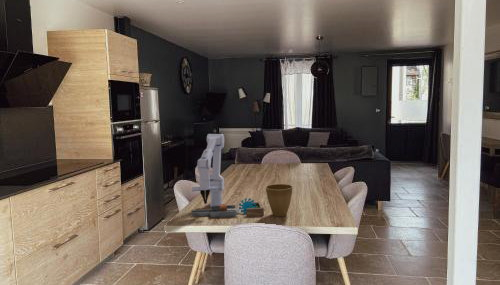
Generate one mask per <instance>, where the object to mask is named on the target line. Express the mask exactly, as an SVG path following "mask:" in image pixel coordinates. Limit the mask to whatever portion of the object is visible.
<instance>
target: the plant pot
mask: <svg viewBox="0 0 500 285" xmlns="http://www.w3.org/2000/svg"><path fill="white" fill-rule="evenodd" d="M265 192H266V197H267V201H268V204H269V207H270V210H271V212H272V215H273V216H275V217H286V216H287V214H288V211H289V208H290V205H291V201H292V195H293V185H292V184H285V183H279V184H278V183H275V184H269V185H268V184H267V185H266V186H265Z"/></svg>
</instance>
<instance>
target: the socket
mask: <svg viewBox="0 0 500 285" xmlns="http://www.w3.org/2000/svg"><path fill="white" fill-rule="evenodd" d="M233 208H236V204H227V209H233ZM212 211H213V212H212ZM190 216H191V217H192V216H197V217H210V218H211V219H219V218H236V217H237V214H236V211H220V205H219V206H211V207H210V208H209V209H194V210H193V209H192V210H191V214H190ZM192 218H193V217H192Z"/></svg>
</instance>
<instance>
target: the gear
mask: <svg viewBox="0 0 500 285" xmlns="http://www.w3.org/2000/svg"><path fill="white" fill-rule="evenodd" d="M251 202H255V200H254V199H251V198H250V197H249V198H244V200H243V199H241V200H240V202H239V204H238V206H239V207H238V208H239V210H240V213H244V215H247V209H246V208H258V206H253V204H254V205H256V203H251Z"/></svg>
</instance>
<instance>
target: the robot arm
mask: <svg viewBox="0 0 500 285" xmlns="http://www.w3.org/2000/svg"><path fill="white" fill-rule="evenodd" d="M206 143H207V145H206V148H205V149H204V150H203V152H202V154H201V157H200V158H199V159H197V161H196V162H197V163H196V164H197V165H196V166H197V170H198V171H197V172H198V173H199V186H195V187H191V192H199V193H200V196H201V197H202V199H203V200H202V201H203V204H204V205H207V203H208V199H209V198H210V201H209V202H210V203H209V207H210V208H211V206H219V205H220V204H224V202H223V191H224V189H225V186H226V185H225V178H224V177H223V176H222V175H221V163H222V162H221V161H222V160H221V159H222V149H224V147H225V135H224V134H223V133H218V134H217V133H215V134H214V133H208V134H207V136H206ZM211 166H212V170H211V171H212V172H211V175H210V169H211ZM209 196H210V197H209Z"/></svg>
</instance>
